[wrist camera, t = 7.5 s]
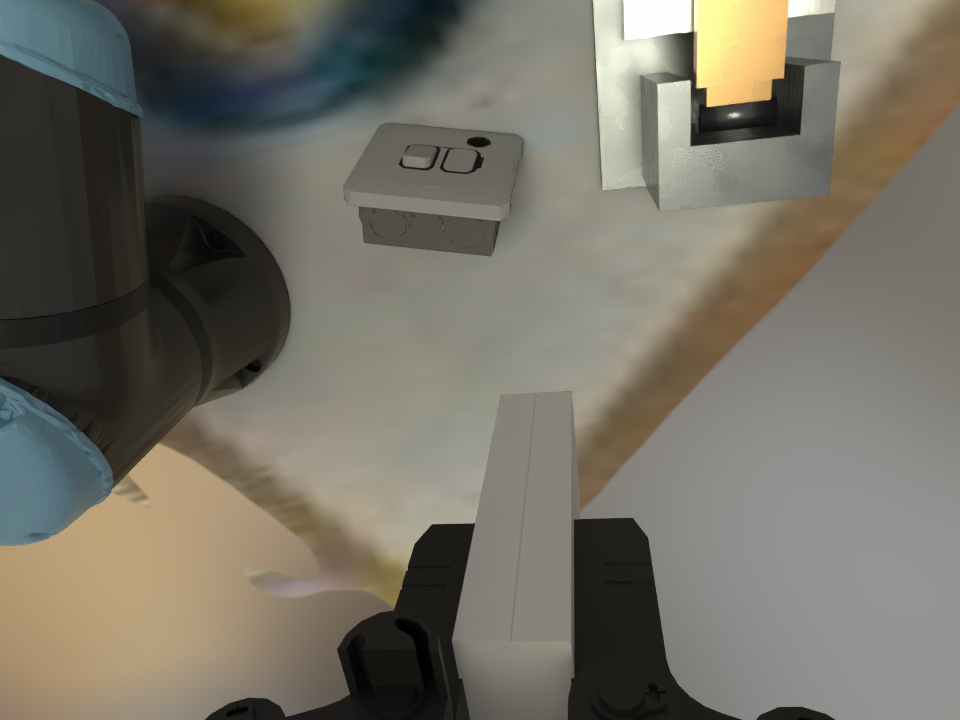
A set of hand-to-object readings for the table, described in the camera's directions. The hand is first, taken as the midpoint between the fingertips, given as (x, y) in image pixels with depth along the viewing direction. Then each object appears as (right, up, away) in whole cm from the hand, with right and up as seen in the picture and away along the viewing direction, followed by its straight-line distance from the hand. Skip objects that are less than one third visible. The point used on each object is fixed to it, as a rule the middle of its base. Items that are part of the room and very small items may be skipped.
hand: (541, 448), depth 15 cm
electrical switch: (-3, +14, +30) cm, 33 cm away
